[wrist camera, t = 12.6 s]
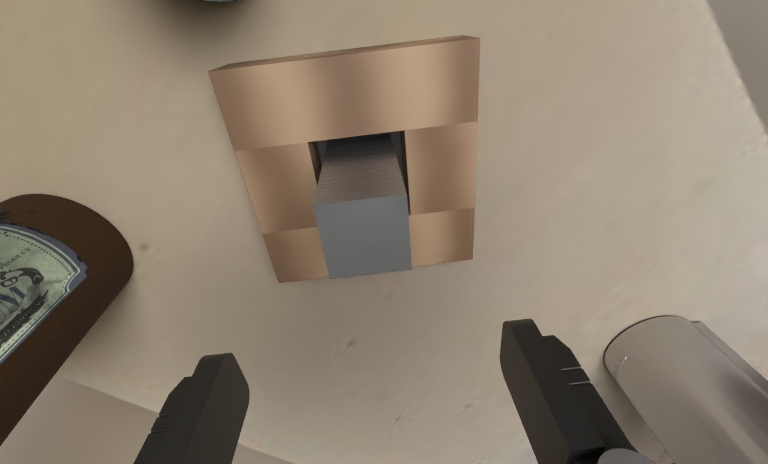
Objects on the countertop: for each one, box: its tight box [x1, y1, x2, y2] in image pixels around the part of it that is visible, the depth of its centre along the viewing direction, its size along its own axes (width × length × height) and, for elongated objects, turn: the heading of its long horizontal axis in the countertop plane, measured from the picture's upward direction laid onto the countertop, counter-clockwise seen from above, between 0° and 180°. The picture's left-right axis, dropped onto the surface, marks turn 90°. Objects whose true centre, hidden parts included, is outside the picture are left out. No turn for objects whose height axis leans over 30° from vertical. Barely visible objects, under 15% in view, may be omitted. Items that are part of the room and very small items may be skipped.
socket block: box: [208, 35, 480, 283], centre depth 23 cm, size 14×14×4 cm
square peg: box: [313, 132, 412, 279], centre depth 20 cm, size 4×4×10 cm
